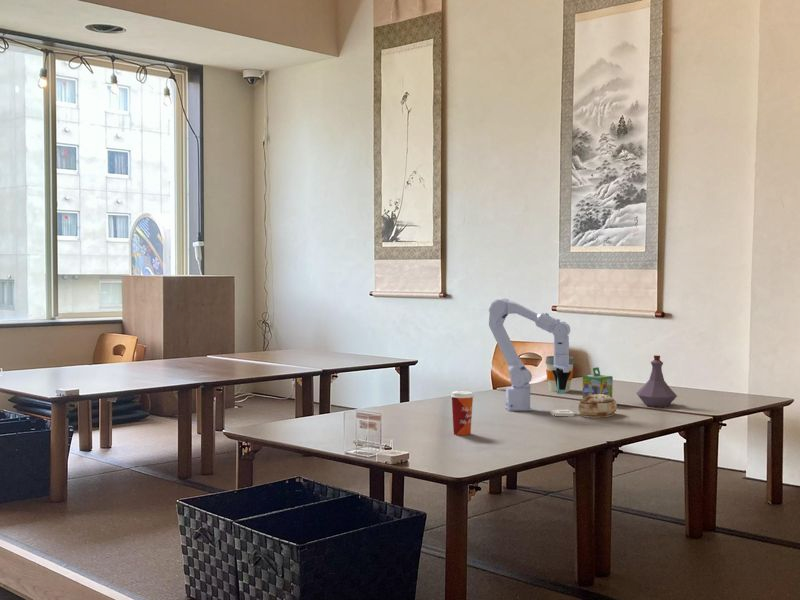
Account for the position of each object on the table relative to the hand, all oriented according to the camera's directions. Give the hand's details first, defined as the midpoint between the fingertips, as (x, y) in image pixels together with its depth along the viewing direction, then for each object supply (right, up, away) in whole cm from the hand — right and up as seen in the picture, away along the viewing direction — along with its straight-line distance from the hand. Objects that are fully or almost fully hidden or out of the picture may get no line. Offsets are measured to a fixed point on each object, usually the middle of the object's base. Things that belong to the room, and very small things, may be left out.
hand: (561, 389), depth 351 cm
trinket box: (+13, -10, -6) cm, 17 cm away
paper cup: (-41, -11, -45) cm, 62 cm away
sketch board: (-1, -9, -6) cm, 11 cm away
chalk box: (+18, -8, +21) cm, 29 cm away
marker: (0, -2, 0) cm, 2 cm away
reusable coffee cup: (+10, -7, +59) cm, 60 cm away
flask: (+42, -8, +18) cm, 46 cm away
